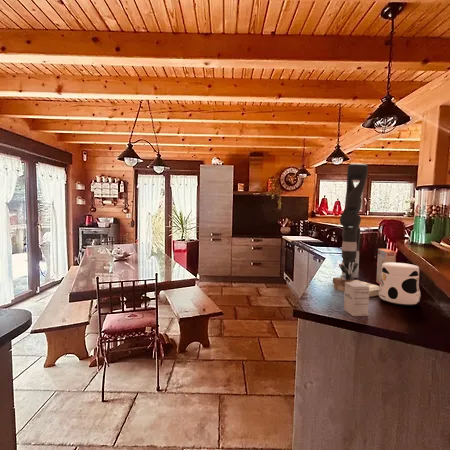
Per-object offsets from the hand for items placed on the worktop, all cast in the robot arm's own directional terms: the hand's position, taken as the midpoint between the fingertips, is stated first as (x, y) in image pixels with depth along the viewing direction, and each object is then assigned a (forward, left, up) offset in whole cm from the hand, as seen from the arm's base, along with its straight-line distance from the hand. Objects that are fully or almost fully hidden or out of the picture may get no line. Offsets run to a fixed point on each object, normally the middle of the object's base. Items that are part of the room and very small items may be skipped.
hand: (348, 280), depth 167 cm
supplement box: (+30, -28, -5) cm, 41 cm away
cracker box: (+4, +26, -5) cm, 27 cm away
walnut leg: (+6, -7, -1) cm, 9 cm away
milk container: (+28, +3, -5) cm, 29 cm away
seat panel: (+6, +2, -5) cm, 8 cm away
